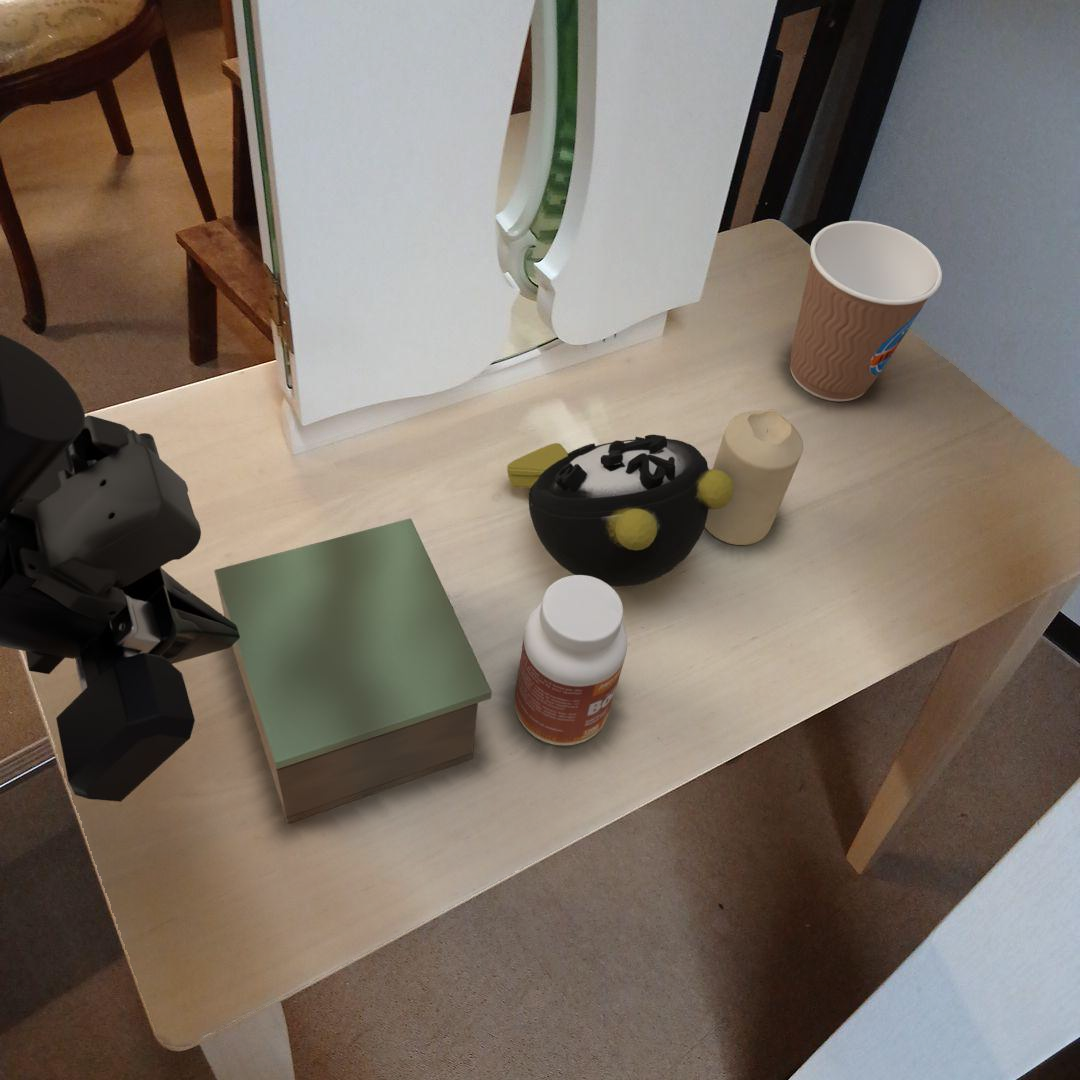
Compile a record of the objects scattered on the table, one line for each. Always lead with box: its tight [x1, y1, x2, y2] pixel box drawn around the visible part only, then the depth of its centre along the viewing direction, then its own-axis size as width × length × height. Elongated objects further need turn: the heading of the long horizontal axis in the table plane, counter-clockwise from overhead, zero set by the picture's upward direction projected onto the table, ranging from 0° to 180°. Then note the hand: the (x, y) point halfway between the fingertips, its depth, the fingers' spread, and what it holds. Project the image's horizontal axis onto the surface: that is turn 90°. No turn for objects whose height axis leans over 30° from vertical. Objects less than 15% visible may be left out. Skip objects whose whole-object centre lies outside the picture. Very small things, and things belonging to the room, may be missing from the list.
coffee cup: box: [789, 220, 943, 402], centre depth 87 cm, size 10×10×12 cm
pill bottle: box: [514, 574, 628, 746], centre depth 65 cm, size 6×6×11 cm
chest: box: [215, 579, 479, 824], centre depth 65 cm, size 12×14×7 cm
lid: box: [214, 517, 493, 769], centre depth 62 cm, size 12×14×1 cm
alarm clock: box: [506, 434, 734, 588], centre depth 74 cm, size 12×15×15 cm
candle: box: [704, 409, 804, 546], centre depth 77 cm, size 6×6×10 cm
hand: (233, 637), depth 58 cm, fingers closed
